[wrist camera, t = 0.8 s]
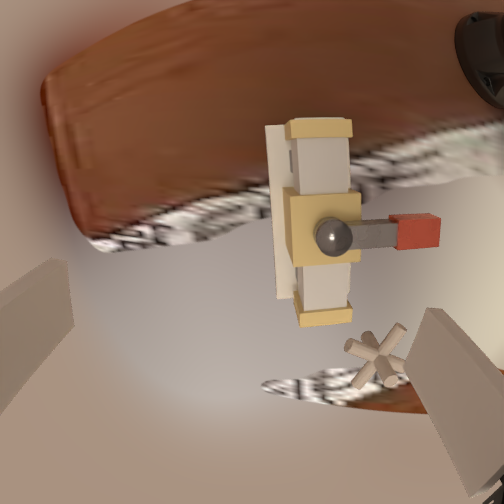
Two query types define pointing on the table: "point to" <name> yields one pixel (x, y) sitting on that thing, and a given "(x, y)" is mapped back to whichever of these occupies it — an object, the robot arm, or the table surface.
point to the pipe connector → (377, 356)
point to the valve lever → (377, 233)
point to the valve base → (311, 214)
